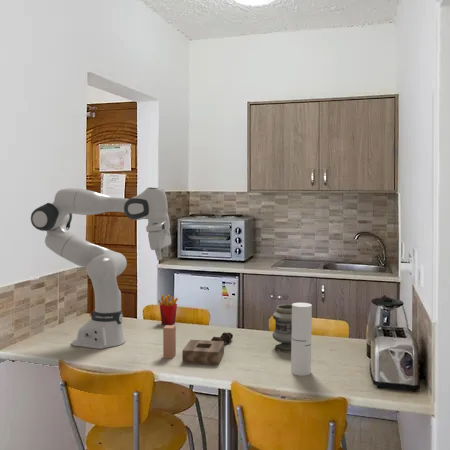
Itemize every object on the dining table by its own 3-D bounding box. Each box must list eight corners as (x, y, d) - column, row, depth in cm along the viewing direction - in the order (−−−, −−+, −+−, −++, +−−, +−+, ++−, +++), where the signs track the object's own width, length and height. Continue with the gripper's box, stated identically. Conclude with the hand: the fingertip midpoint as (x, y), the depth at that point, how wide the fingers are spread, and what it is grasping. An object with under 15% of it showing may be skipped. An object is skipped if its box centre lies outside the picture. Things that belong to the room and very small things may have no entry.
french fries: (165, 321, 250) (165, 292, 249) (180, 323, 247) (180, 293, 246) (156, 325, 242) (156, 295, 241) (171, 327, 239) (171, 297, 238)
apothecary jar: (266, 348, 208) (266, 306, 207) (283, 342, 217) (284, 301, 215) (290, 355, 200) (290, 311, 198) (306, 348, 208) (307, 306, 207)
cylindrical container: (289, 368, 184) (290, 302, 182) (307, 368, 184) (309, 302, 183) (293, 375, 177) (294, 307, 175) (312, 375, 177) (314, 306, 176)
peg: (163, 357, 196) (163, 327, 195) (166, 354, 200) (166, 325, 199) (173, 358, 195) (173, 328, 194) (175, 354, 199) (175, 325, 198)
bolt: (231, 344, 220) (217, 352, 206) (222, 337, 222) (207, 345, 208) (237, 333, 219) (223, 341, 205) (228, 327, 220) (214, 334, 207)
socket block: (182, 363, 189) (182, 350, 189) (190, 351, 203) (190, 339, 203) (218, 365, 187) (218, 352, 187) (224, 353, 201) (224, 341, 201)
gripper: (158, 224, 218) (162, 255, 218) (144, 228, 197) (148, 262, 198) (172, 223, 217) (176, 254, 217) (159, 226, 196) (163, 260, 197)
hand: (162, 258), depth 208 cm, fingers open, 8 cm apart
